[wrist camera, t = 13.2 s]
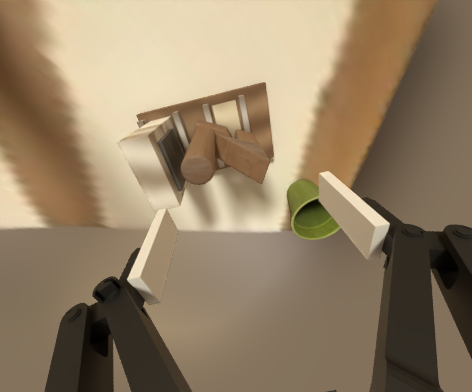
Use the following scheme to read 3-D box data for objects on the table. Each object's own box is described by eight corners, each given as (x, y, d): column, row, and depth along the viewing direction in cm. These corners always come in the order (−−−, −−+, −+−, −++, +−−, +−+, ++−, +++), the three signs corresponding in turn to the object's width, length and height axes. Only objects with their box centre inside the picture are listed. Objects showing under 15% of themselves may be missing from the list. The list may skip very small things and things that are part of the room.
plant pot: (273, 179, 47) (287, 205, 37) (321, 164, 45) (349, 187, 36) (281, 215, 53) (295, 246, 43) (324, 203, 52) (348, 231, 42)
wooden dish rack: (140, 113, 37) (94, 134, 23) (263, 82, 36) (290, 85, 22) (169, 177, 44) (147, 221, 31) (271, 153, 43) (296, 188, 29)
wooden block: (248, 151, 38) (268, 199, 23) (194, 138, 36) (176, 183, 21) (254, 132, 37) (279, 172, 21) (197, 118, 34) (180, 151, 19)
